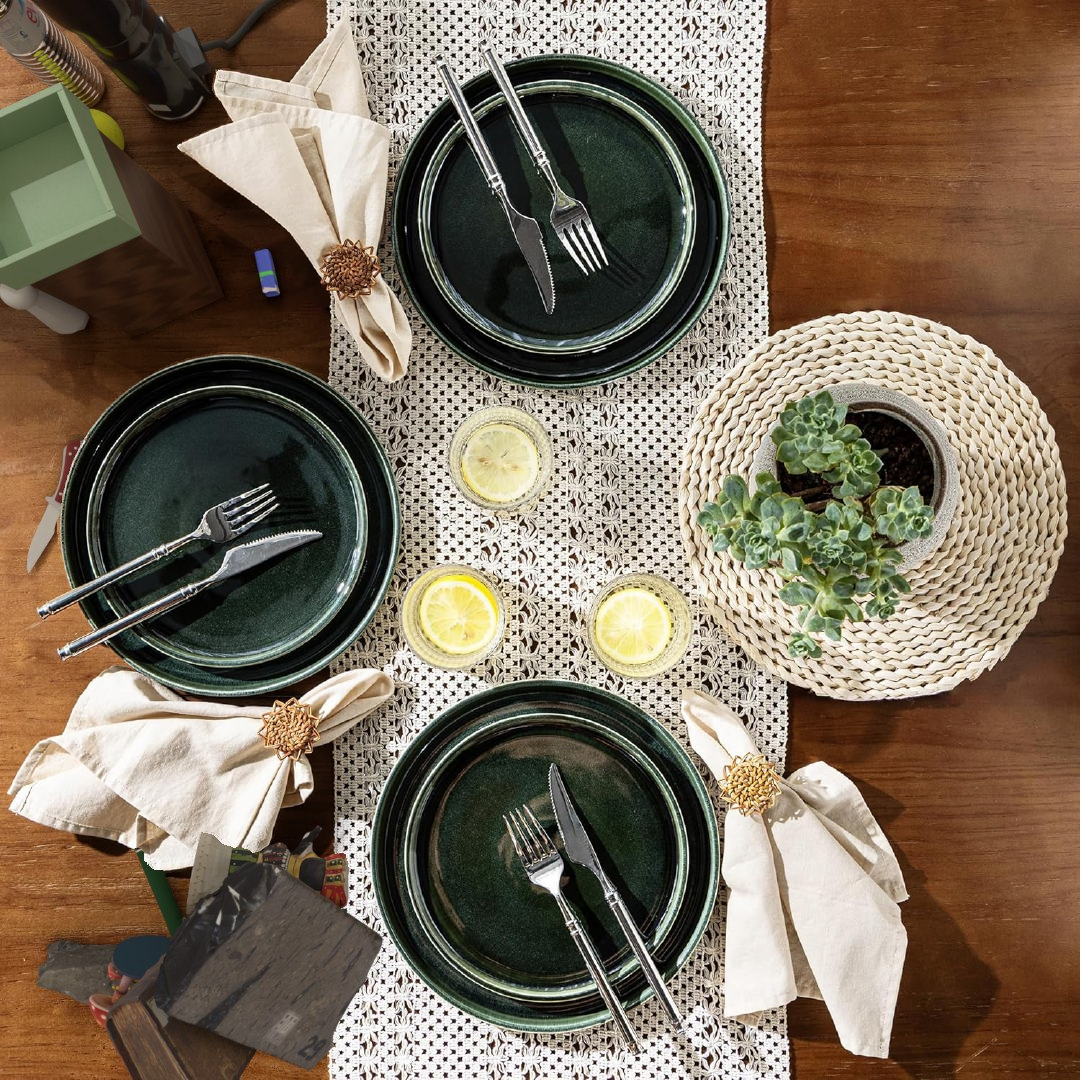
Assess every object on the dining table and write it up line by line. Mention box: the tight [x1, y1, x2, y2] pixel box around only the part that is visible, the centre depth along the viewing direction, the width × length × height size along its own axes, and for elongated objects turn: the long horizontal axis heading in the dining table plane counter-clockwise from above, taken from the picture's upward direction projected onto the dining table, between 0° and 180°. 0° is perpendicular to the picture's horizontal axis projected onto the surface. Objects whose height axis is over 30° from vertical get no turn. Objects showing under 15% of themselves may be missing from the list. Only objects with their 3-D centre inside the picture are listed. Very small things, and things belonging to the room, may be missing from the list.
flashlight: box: [134, 848, 187, 938], centre depth 112 cm, size 5×5×20 cm
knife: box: [26, 440, 84, 575], centre depth 114 cm, size 20×1×3 cm
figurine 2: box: [185, 825, 350, 915], centre depth 109 cm, size 12×15×20 cm
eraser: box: [254, 248, 281, 298], centre depth 113 cm, size 2×6×2 cm
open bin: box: [0, 82, 142, 290], centre depth 88 cm, size 16×16×5 cm
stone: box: [35, 939, 134, 1006], centre depth 110 cm, size 18×9×10 cm
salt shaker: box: [0, 283, 90, 335], centre depth 108 cm, size 6×6×13 cm
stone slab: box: [154, 862, 384, 1072], centre depth 101 cm, size 18×9×30 cm
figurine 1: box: [88, 934, 172, 1029], centre depth 106 cm, size 12×9×8 cm
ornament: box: [89, 108, 125, 151], centre depth 110 cm, size 7×7×10 cm
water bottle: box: [0, 0, 106, 109], centre depth 103 cm, size 7×7×25 cm
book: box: [105, 953, 257, 1080], centre depth 101 cm, size 17×7×25 cm, turn 25°
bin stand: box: [30, 128, 225, 337], centre depth 102 cm, size 14×14×24 cm
